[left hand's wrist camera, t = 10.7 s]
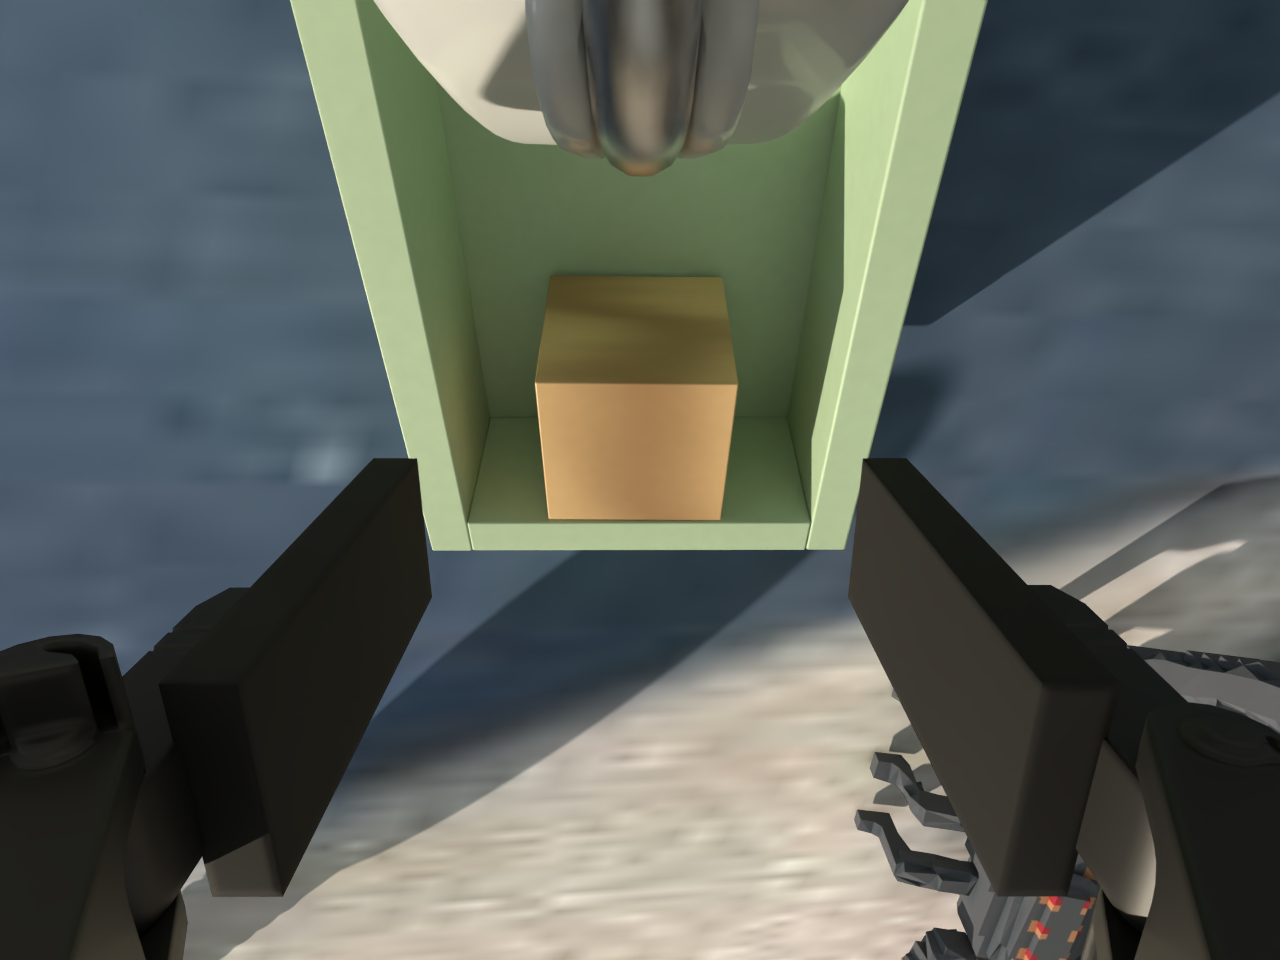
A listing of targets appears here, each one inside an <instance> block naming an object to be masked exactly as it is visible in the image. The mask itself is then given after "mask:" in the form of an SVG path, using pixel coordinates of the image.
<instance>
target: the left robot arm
mask: <svg viewBox="0 0 1280 960" xmlns="http://www.w3.org/2000/svg"><path fill="white" fill-rule="evenodd" d="M431 598H432V593H431V584H430V574H429V565H428V556H427V546H426V537H425V527H424V518H423V508H422V499H421V489H420V480H419V470H418V461H417V458H373V460H372V461H371V462H370V463H369V464H368V465H367V466H366V467H365V468H364V469H363V470H362V471H361V472H360V473H359V474H358V475H357V476H356V477H355V478H354V479H353V480H352V482H351V483H350V484H349V485H348V486H347V487H346V488H345V489H344V490H343V491H342V492H341V493H340V494H339V495H338V496H337V497H336V498H335V499H334V500H333V501H332V502H331V504H330V505H329V506H328V507H327V508H326V509H325V510H324V511H323V512H322V513H321V514H320V515H319V516H318V517H317V518H316V519H315V520H314V521H313V522H312V523H311V524H310V526H309V527H308V528H307V529H306V530H305V531H304V532H303V533H302V534H301V535H300V536H299V537H298V538H297V539H296V540H295V541H294V542H293V543H292V544H291V545H290V546H289V547H288V549H287V550H286V551H285V552H284V553H283V554H282V555H281V556H280V557H279V558H278V559H277V560H276V561H275V562H274V563H273V564H272V565H271V566H270V567H269V568H268V569H267V571H266V572H265V573H264V574H263V575H262V576H261V577H260V578H259V579H258V580H257V581H256V582H255V583H254V584H253V585H252V586H251V587H250V588H228V589H227V590H225V591H223V592H221V593H219V594H217V595H216V596H214V597H212V598H210V599H208V600H206V601H205V602H203V603H201V604H199V605H197V606H196V607H194V608H193V609H192V610H191V611H190V612H189V613H188V614H187V615H186V616H185V617H184V618H183V619H182V620H181V621H180V622H179V623H178V624H177V625H176V626H175V627H174V628H173V632H172V633H167V634H166V635H165V636H164V637H163V638H162V639H161V640H160V641H159V642H158V643H157V644H156V645H155V646H154V651H149V652H148V653H147V654H146V655H145V656H143V657H142V658H141V659H140V660H139V661H138V662H137V663H136V664H135V665H134V666H133V667H132V668H131V669H130V670H129V671H128V672H127V673H126V674H125V675H124V676H123V677H122V675H121V672H120V668H119V664H118V661H117V657H116V653H115V650H114V646H113V644H112V643H110V642H108V641H107V640H105V639H104V638H102V637H100V636H92V635H84V634H72V635H62V636H51V637H46V638H42V639H38V640H34V641H30V642H26V643H22V644H18V645H15V646H13V647H10V648H8V649H5V650H3V651H0V960H183V954H184V946H185V939H186V931H187V923H188V922H187V916H186V910H185V905H184V901H183V897H182V894H181V888H182V886H183V885H184V883H185V882H186V880H187V879H188V877H189V876H190V874H191V873H192V871H193V869H194V868H195V866H196V865H197V863H198V862H199V860H200V859H201V857H203V861H204V865H205V868H206V872H207V876H208V880H209V884H210V888H211V892H212V896H213V897H283V895H284V893H285V891H286V889H287V887H288V885H289V883H290V881H291V879H292V877H293V875H294V873H295V871H296V869H297V867H298V865H299V863H300V861H301V859H302V857H303V855H304V853H305V851H306V849H307V847H308V845H309V843H310V841H311V839H312V837H313V835H314V833H315V831H316V829H317V827H318V825H319V823H320V821H321V819H322V817H323V815H324V813H325V811H326V809H327V807H328V805H329V803H330V801H331V799H332V797H333V795H334V793H335V791H336V789H337V787H338V785H339V783H340V781H341V779H342V777H343V775H344V773H345V771H346V769H347V766H348V764H349V762H350V760H351V758H352V756H353V754H354V752H355V750H356V748H357V746H358V744H359V742H360V740H361V738H362V736H363V734H364V732H365V730H366V728H367V726H368V724H369V722H370V720H371V718H372V716H373V714H374V712H375V710H376V708H377V706H378V704H379V702H380V700H381V698H382V696H383V694H384V692H385V690H386V688H387V686H388V684H389V682H390V680H391V678H392V676H393V674H394V672H395V670H396V668H397V666H398V664H399V662H400V660H401V658H402V656H403V654H404V652H405V650H406V648H407V646H408V644H409V642H410V640H411V638H412V636H413V634H414V632H415V630H416V628H417V626H418V624H419V622H420V620H421V618H422V616H423V614H424V612H425V610H426V608H427V606H428V604H429V602H430V600H431ZM848 598H849V600H850V602H851V604H852V606H853V608H854V610H855V612H856V614H857V616H858V618H859V620H860V622H861V624H862V626H863V628H864V630H865V632H866V634H867V636H868V638H869V640H870V642H871V644H872V646H873V648H874V650H875V652H876V654H877V656H878V658H879V660H880V662H881V664H882V666H883V668H884V670H885V672H886V674H887V676H888V678H889V680H890V682H891V684H892V686H893V688H894V690H895V692H896V694H897V696H898V698H899V700H900V702H901V704H902V706H903V708H904V710H905V712H906V714H907V716H908V718H909V720H910V722H911V724H912V726H913V728H914V730H915V732H916V734H917V736H918V738H919V740H920V742H921V744H922V746H923V748H924V750H925V752H926V754H927V756H928V759H929V761H930V763H931V765H932V767H933V769H934V771H935V773H936V775H937V777H938V779H939V781H940V783H941V785H942V787H943V789H944V791H945V793H946V795H947V797H948V799H949V801H950V803H951V805H952V807H953V809H954V811H955V813H956V815H957V817H958V819H959V821H960V823H961V825H962V827H963V829H964V831H965V833H966V835H967V837H968V839H969V841H970V843H971V845H972V847H973V849H974V851H975V853H976V855H977V857H978V859H979V861H980V863H981V865H982V867H983V869H984V871H985V873H986V875H987V877H988V879H989V881H990V883H991V885H992V887H993V889H994V891H995V893H996V895H997V897H1067V896H1068V892H1069V888H1070V884H1071V880H1072V876H1073V872H1074V868H1075V864H1076V861H1077V857H1078V853H1079V855H1080V856H1081V858H1082V859H1083V861H1084V862H1085V864H1086V865H1087V867H1088V868H1089V870H1090V871H1091V873H1092V875H1093V876H1094V878H1095V879H1096V881H1097V882H1098V884H1099V885H1100V890H1099V894H1098V897H1097V901H1096V905H1095V908H1094V912H1093V916H1092V919H1091V923H1090V927H1089V930H1088V934H1087V937H1086V941H1085V945H1084V948H1083V952H1082V956H1081V960H1280V734H1279V733H1278V732H1276V731H1275V730H1273V729H1272V728H1270V727H1269V726H1266V725H1264V724H1262V723H1260V722H1258V721H1256V720H1253V719H1251V718H1249V717H1247V716H1245V715H1243V714H1240V713H1237V712H1234V711H1230V710H1227V709H1223V708H1220V707H1216V706H1213V705H1209V704H1200V703H1191V702H1188V701H1187V700H1185V699H1184V698H1183V697H1182V696H1181V695H1180V694H1179V693H1178V692H1177V691H1176V690H1175V689H1174V688H1173V687H1172V686H1171V685H1170V684H1169V683H1168V682H1167V681H1166V680H1165V679H1163V678H1162V677H1161V676H1160V675H1159V674H1158V673H1157V672H1156V671H1155V670H1154V669H1153V668H1152V667H1151V666H1150V665H1149V664H1148V663H1147V662H1146V661H1145V660H1144V659H1142V658H1141V657H1140V656H1139V655H1138V654H1137V653H1136V652H1135V651H1134V650H1133V649H1132V648H1127V643H1126V642H1125V641H1124V640H1123V639H1122V638H1120V637H1119V636H1118V635H1117V634H1116V633H1115V632H1114V631H1113V630H1108V625H1107V624H1106V623H1105V622H1104V621H1103V620H1102V619H1101V618H1099V617H1098V616H1097V615H1096V614H1095V613H1094V612H1093V611H1092V610H1091V609H1090V608H1089V607H1088V606H1087V605H1086V604H1085V603H1083V602H1081V601H1079V600H1077V599H1075V598H1074V597H1072V596H1070V595H1068V594H1066V593H1064V592H1062V591H1061V590H1059V589H1057V588H1055V587H1053V586H1051V585H1027V584H1026V583H1025V582H1024V581H1023V580H1022V579H1021V578H1020V577H1019V576H1018V575H1017V574H1016V573H1015V572H1014V571H1013V570H1012V568H1011V567H1010V566H1009V565H1008V564H1007V563H1006V562H1005V561H1004V560H1003V559H1002V558H1001V557H1000V556H999V555H998V554H997V553H996V552H995V551H994V550H993V549H992V548H991V546H990V545H989V544H988V543H987V542H986V541H985V540H984V539H983V538H982V537H981V536H980V535H979V534H978V533H977V532H976V531H975V530H974V529H973V528H972V527H971V526H970V524H969V523H968V522H967V521H966V520H965V519H964V518H963V517H962V516H961V515H960V514H959V513H958V512H957V511H956V510H955V509H954V508H953V507H952V506H951V505H950V504H949V502H948V501H947V500H946V499H945V498H944V497H943V496H942V495H941V494H940V493H939V492H938V491H937V490H936V489H935V488H934V487H933V486H932V485H931V484H930V483H929V482H928V480H927V479H926V478H925V477H924V476H923V475H922V474H921V473H920V472H919V471H918V470H917V469H916V468H915V467H914V466H913V465H912V464H911V463H910V462H909V461H908V460H907V459H906V458H863V461H862V470H861V480H860V489H859V499H858V508H857V518H856V527H855V536H854V546H853V555H852V565H851V574H850V584H849V593H848Z"/></svg>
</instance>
